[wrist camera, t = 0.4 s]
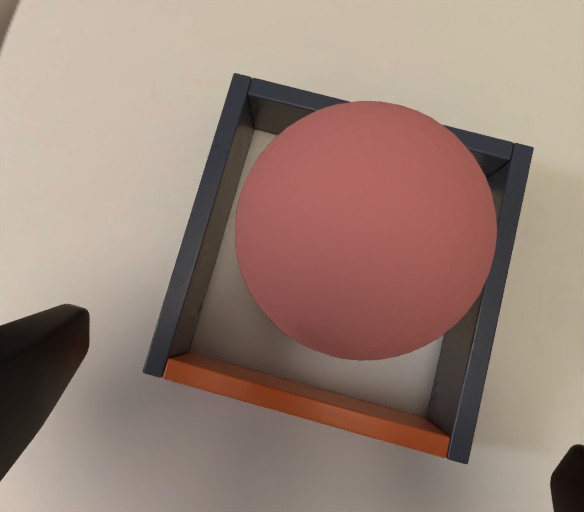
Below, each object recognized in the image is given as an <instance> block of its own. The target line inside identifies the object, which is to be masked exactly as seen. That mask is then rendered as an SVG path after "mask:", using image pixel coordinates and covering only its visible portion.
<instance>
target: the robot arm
mask: <svg viewBox="0 0 584 512" xmlns="http://www.w3.org/2000/svg"><path fill="white" fill-rule="evenodd" d="M89 324H90V317H89V312H88V310H87V309H85V308H82V307H79V306H75V305H71V304H63V305H59V306H57V307H54V308H51V309H48V310H45V311H42V312H39V313H36V314H33V315H30V316H27V317H24V318H21V319H18V320H16V321H13V322H10V323H7V324H4V325H1V326H0V481H1V480H2V479H3V477H4V476H5V475H6V473H7V472H8V471H9V469H10V468H11V467H12V466H13V464H14V463H15V462H16V460H17V459H18V458H19V456H20V455H21V454H22V453H23V451H24V450H25V449H26V447H27V446H28V445H29V443H30V442H31V441H32V439H33V438H34V437H35V435H36V434H37V433H38V431H39V430H40V429H41V427H42V426H43V424H44V423H45V421H46V420H47V418H48V417H49V415H50V413H51V412H52V410H53V408H54V407H55V405H56V404H57V402H58V400H59V399H60V397H61V395H62V394H63V392H64V390H65V389H66V387H67V386H68V384H69V382H70V381H71V379H72V377H73V376H74V374H75V372H76V371H77V369H78V368H79V366H80V364H81V363H82V361H83V359H84V358H85V356H86V354H87V352H88V348H89ZM550 488H551V495H552V502H553V509H554V512H584V445H581V444H576V445H574V446H572V447H571V448H570V449H569V450H568V452H567V453H566V455H565V456H564V458H563V459H562V460H561V462H560V463H559V465H558V466H557V467H556V469H555V470H554V472H553V474H552V476H551V481H550Z"/></svg>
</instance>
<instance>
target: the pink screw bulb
mask: <svg viewBox="0 0 584 512" xmlns="http://www.w3.org/2000/svg"><path fill="white" fill-rule="evenodd" d="M496 238H497V222H496V211H495V207H494V202H493V198H492V193H491V190H490V187H489V185H488V182H487V180H486V177H485V175H484V173H483V171H482V169H481V168H480V166H479V164H478V163H477V161H476V159H475V158H474V156H473V154H472V153H471V152H470V151H469V150H468V149H467V148H466V147H465V145H464V144H463V143H462V142H461V141H460V140H459V139H458V138H457V137H456V135H455V134H453V133H452V132H451V131H450V130H448V129H447V128H446V127H444V126H443V125H441V124H440V123H438V122H437V121H435V120H434V119H433V118H431V117H429V116H427V115H425V114H423V113H420V112H418V111H416V110H413V109H411V108H407V107H404V106H401V105H396V104H391V103H386V102H376V101H357V102H350V103H343V104H336V105H333V106H330V107H327V108H323V109H320V110H317V111H315V112H313V113H312V114H310V115H308V116H306V117H304V118H302V119H300V120H298V121H297V122H295V123H293V124H292V125H290V126H289V127H287V128H286V129H285V130H284V131H282V132H281V133H280V134H279V135H278V136H277V137H276V138H275V139H274V140H273V141H272V142H271V143H270V144H269V145H268V146H267V147H266V148H265V150H264V151H263V152H262V153H261V154H260V156H259V157H258V159H257V160H256V162H255V164H254V165H253V167H252V169H251V171H250V173H249V175H248V177H247V179H246V181H245V183H244V186H243V189H242V191H241V194H240V198H239V202H238V207H237V211H236V222H235V245H236V251H237V257H238V262H239V265H240V269H241V272H242V275H243V278H244V280H245V283H246V285H247V287H248V289H249V291H250V293H251V295H252V297H253V298H254V300H255V301H256V303H257V304H258V305H259V307H260V308H261V310H262V311H263V312H264V313H265V314H266V315H267V316H268V317H269V319H270V320H271V321H272V322H273V323H274V324H275V325H276V326H277V327H278V328H279V329H280V330H282V331H283V332H284V333H285V334H287V335H288V336H290V337H291V338H293V339H294V340H296V341H298V342H299V343H301V344H302V345H305V346H307V347H309V348H311V349H313V350H316V351H318V352H321V353H324V354H327V355H330V356H334V357H338V358H343V359H352V360H380V359H386V358H391V357H396V356H399V355H403V354H406V353H409V352H412V351H414V350H417V349H419V348H421V347H423V346H426V345H427V344H429V343H431V342H432V341H434V340H436V339H438V338H439V337H441V336H442V335H443V334H444V333H446V332H447V331H448V330H449V329H451V328H452V327H453V326H454V325H455V324H456V323H457V322H458V321H459V320H460V319H461V318H462V317H463V316H464V315H465V314H466V313H467V311H468V310H469V309H470V307H471V306H472V305H473V303H474V302H475V300H476V299H477V298H478V296H479V294H480V292H481V290H482V288H483V286H484V284H485V281H486V279H487V277H488V275H489V272H490V269H491V265H492V261H493V257H494V253H495V246H496Z"/></svg>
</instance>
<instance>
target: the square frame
mask: <svg viewBox="0 0 584 512" xmlns="http://www.w3.org/2000/svg"><path fill="white" fill-rule="evenodd" d="M343 103H350V102H349V101H345V100H341V99H337V98H333V97H329V96H325V95H321V94H317V93H313V92H309V91H305V90H301V89H297V88H293V87H289V86H285V85H281V84H277V83H273V82H268V81H264V80H260V79H256V78H253V79H252V78H251V77H249V76H245V75H241V74H237V73H234V74H233V77H232V81H231V84H230V87H229V90H228V94H227V97H226V100H225V104H224V107H223V110H222V113H221V117H220V120H219V123H218V126H217V130H216V133H215V136H214V139H213V143H212V146H211V149H210V152H209V156H208V159H207V162H206V166H205V169H204V172H203V175H202V179H201V182H200V185H199V188H198V192H197V195H196V198H195V201H194V205H193V208H192V211H191V214H190V218H189V221H188V224H187V228H186V231H185V234H184V237H183V241H182V244H181V247H180V250H179V254H178V257H177V260H176V263H175V267H174V270H173V273H172V276H171V280H170V283H169V286H168V290H167V293H166V296H165V299H164V303H163V306H162V309H161V312H160V316H159V319H158V322H157V325H156V329H155V332H154V335H153V338H152V342H151V345H150V348H149V351H148V355H147V358H146V361H145V365H144V368H143V373H145V374H148V375H152V376H155V377H159V378H162V377H163V378H164V379H166V380H170V381H173V382H177V383H180V384H184V385H188V386H191V387H195V388H198V389H202V390H205V391H209V392H212V393H216V394H219V395H223V396H226V397H230V398H234V399H237V400H241V401H244V402H248V403H251V404H255V405H258V406H262V407H265V408H269V409H272V410H276V411H279V412H283V413H287V414H290V415H294V416H297V417H301V418H304V419H308V420H311V421H315V422H318V423H322V424H325V425H329V426H333V427H336V428H340V429H343V430H347V431H350V432H354V433H357V434H361V435H364V436H368V437H371V438H375V439H378V440H382V441H386V442H389V443H393V444H396V445H400V446H403V447H407V448H410V449H414V450H417V451H421V452H424V453H428V454H432V455H435V456H439V457H442V458H447V459H449V460H452V461H456V462H459V463H463V464H468V461H469V456H470V451H471V446H472V441H473V437H474V432H475V427H476V422H477V417H478V413H479V408H480V403H481V398H482V393H483V389H484V384H485V379H486V374H487V370H488V365H489V360H490V355H491V350H492V346H493V341H494V336H495V331H496V326H497V322H498V317H499V312H500V307H501V302H502V298H503V293H504V288H505V283H506V278H507V274H508V269H509V264H510V259H511V255H512V250H513V245H514V240H515V235H516V231H517V226H518V221H519V216H520V211H521V207H522V202H523V197H524V192H525V187H526V183H527V178H528V173H529V168H530V163H531V159H532V154H533V149H534V148H533V147H530V146H526V145H522V144H518V143H513V142H509V141H505V140H501V139H497V138H493V137H489V136H485V135H481V134H477V133H473V132H469V131H465V130H461V129H457V128H453V127H449V126H445V125H443V126H444V127H446V128H447V129H448V130H450V131H451V132H452V133H453V134H455V135H456V137H457V138H458V139H459V140H460V141H461V142H462V143H463V144H464V145H465V147H466V148H467V149H468V150H469V151H470V152H471V153H472V154H473V156H474V158H475V159H476V161H477V163H478V164H479V166H480V168H481V169H482V171H483V173H484V175H485V177H486V180H487V182H488V185H489V187H490V190H491V193H492V198H493V202H494V207H495V211H496V222H497V238H496V246H495V253H494V257H493V261H492V265H491V269H490V272H489V275H488V277H487V279H486V281H485V284H484V286H483V288H482V290H481V292H480V294H479V296H478V298H477V299H476V300H475V302H474V303H473V305H472V306H471V307H470V309H469V310H468V311H467V313H466V314H465V315H464V316H463V317H462V318H461V319H460V320H459V321H458V322H457V323H456V324H455V325H454V326H453V327H452V328H451V329H449V330H448V331H447V332H446V333H445V336H444V340H443V345H442V349H441V354H440V358H439V363H438V367H437V372H436V376H435V381H434V385H433V390H432V394H431V399H430V403H429V408H428V412H427V416H426V419H425V418H423V417H420V416H416V415H412V414H409V413H405V412H402V411H398V410H395V409H391V408H387V407H384V406H380V405H377V404H373V403H370V402H366V401H362V400H359V399H355V398H352V397H348V396H344V395H341V394H337V393H334V392H330V391H327V390H323V389H319V388H316V387H312V386H309V385H305V384H301V383H298V382H294V381H291V380H287V379H284V378H280V377H276V376H273V375H269V374H266V373H262V372H259V371H255V370H251V369H248V368H244V367H241V366H237V365H233V364H230V363H226V362H223V361H219V360H216V359H212V358H208V357H205V356H201V355H198V354H194V353H188V352H189V348H190V345H191V342H192V338H193V335H194V331H195V328H196V325H197V321H198V318H199V314H200V311H201V308H202V304H203V301H204V298H205V294H206V291H207V287H208V284H209V281H210V277H211V274H212V270H213V267H214V264H215V260H216V257H217V253H218V250H219V247H220V243H221V240H222V237H223V233H224V230H225V226H226V223H227V220H228V216H229V213H230V209H231V206H232V203H233V199H234V196H235V192H236V189H237V186H238V182H239V179H240V176H241V172H242V169H243V165H244V162H245V159H246V155H247V152H248V148H249V145H250V142H251V138H252V135H253V131H254V128H256V129H260V130H263V131H267V132H271V133H275V134H280V133H281V132H282V131H284V130H285V129H286V128H287V127H289V126H290V125H292V124H293V123H295V122H297V121H298V120H300V119H302V118H304V117H306V116H308V115H310V114H312V113H313V112H315V111H317V110H320V109H323V108H327V107H330V106H333V105H336V104H343Z"/></svg>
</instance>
